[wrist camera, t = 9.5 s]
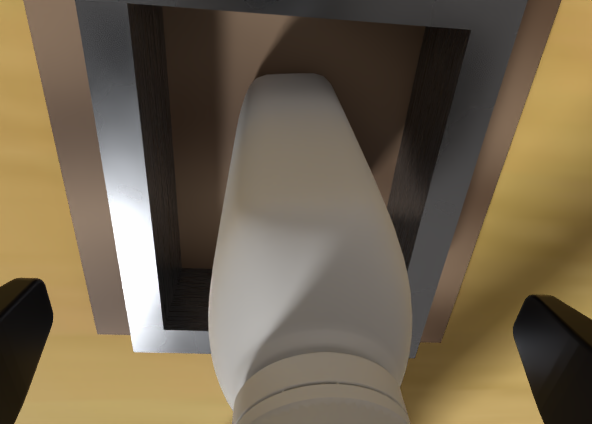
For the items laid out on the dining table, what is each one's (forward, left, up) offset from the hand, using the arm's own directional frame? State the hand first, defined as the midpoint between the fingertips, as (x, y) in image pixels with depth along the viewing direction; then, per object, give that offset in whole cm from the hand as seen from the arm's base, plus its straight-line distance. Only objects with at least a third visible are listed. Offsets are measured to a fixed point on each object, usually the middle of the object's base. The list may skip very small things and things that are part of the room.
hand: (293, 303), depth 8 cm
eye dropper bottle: (0, 0, -7) cm, 7 cm away
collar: (0, 0, -8) cm, 8 cm away
